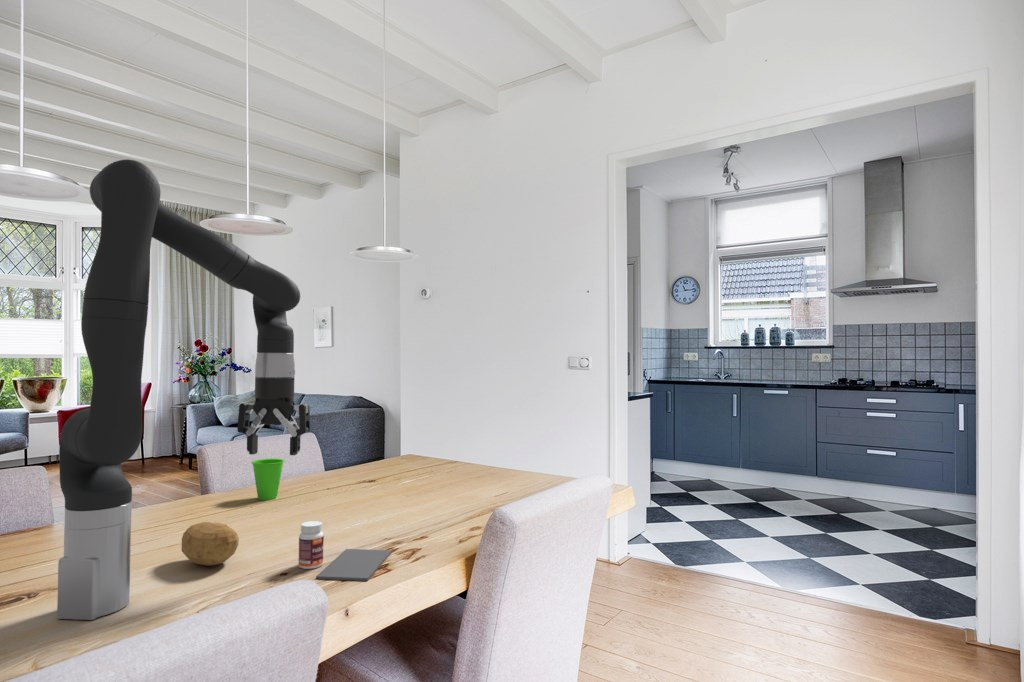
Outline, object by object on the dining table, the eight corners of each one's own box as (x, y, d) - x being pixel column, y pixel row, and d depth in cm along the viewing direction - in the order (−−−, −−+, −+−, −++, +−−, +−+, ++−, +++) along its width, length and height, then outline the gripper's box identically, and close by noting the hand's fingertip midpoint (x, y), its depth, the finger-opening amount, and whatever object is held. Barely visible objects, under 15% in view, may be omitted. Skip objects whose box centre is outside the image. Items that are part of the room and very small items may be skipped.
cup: (250, 496, 177) (251, 459, 178) (282, 493, 181) (283, 457, 181) (251, 503, 169) (251, 464, 169) (285, 500, 173) (285, 462, 173)
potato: (214, 550, 128) (215, 513, 128) (250, 564, 120) (250, 524, 120) (167, 563, 120) (168, 523, 120) (201, 578, 112) (202, 536, 112)
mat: (367, 580, 111) (367, 578, 111) (316, 578, 112) (316, 576, 112) (391, 552, 127) (391, 550, 127) (346, 551, 128) (346, 548, 128)
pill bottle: (315, 570, 117) (316, 527, 117) (293, 568, 118) (294, 526, 118) (327, 562, 121) (328, 521, 122) (306, 560, 122) (307, 519, 122)
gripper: (231, 375, 118) (230, 456, 118) (301, 376, 117) (299, 458, 117) (250, 374, 126) (249, 451, 125) (316, 375, 125) (314, 452, 124)
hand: (273, 454), depth 121 cm, fingers open, 8 cm apart
